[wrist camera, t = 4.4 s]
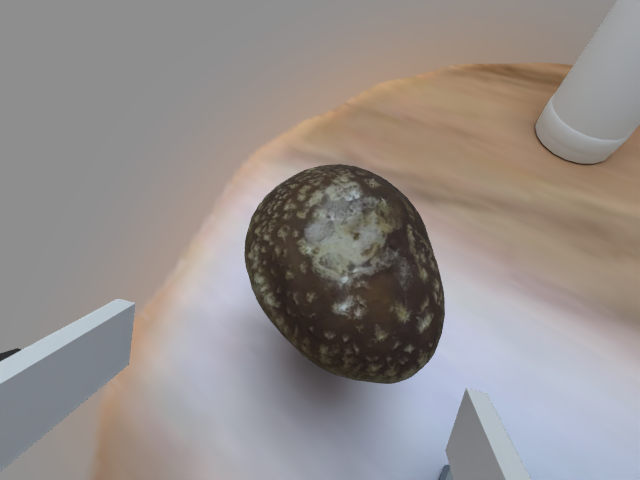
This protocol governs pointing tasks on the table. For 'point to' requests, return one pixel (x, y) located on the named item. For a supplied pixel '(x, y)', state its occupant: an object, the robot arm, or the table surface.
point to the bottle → (598, 92)
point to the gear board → (446, 473)
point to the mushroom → (347, 273)
